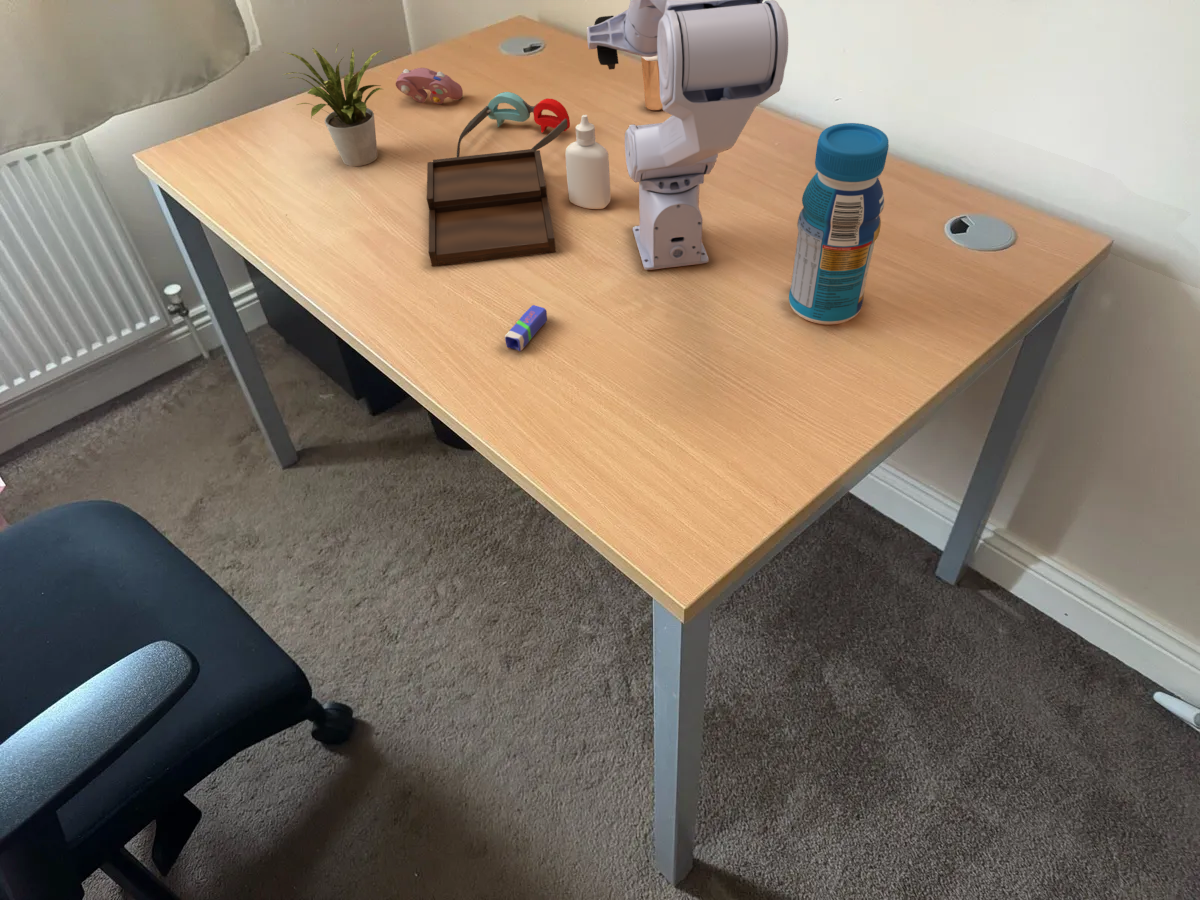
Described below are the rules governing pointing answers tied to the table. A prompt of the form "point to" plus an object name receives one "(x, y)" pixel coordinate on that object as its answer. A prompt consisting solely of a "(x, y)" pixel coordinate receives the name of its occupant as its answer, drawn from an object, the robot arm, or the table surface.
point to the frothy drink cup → (651, 82)
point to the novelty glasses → (523, 116)
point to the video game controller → (428, 85)
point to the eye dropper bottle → (587, 169)
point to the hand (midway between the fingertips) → (639, 58)
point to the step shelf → (488, 207)
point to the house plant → (346, 111)
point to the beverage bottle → (839, 224)
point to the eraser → (526, 327)
